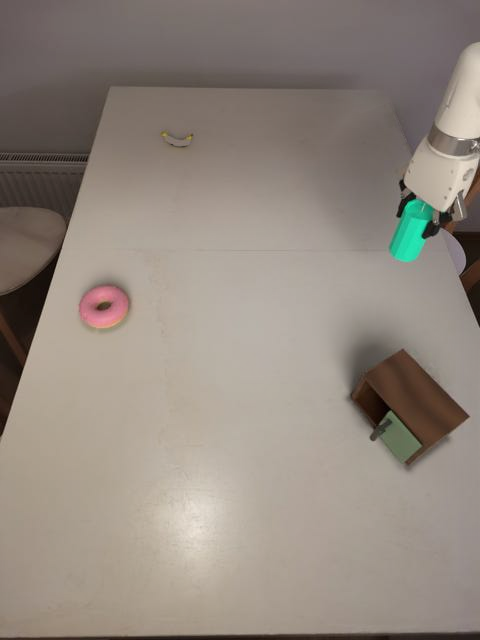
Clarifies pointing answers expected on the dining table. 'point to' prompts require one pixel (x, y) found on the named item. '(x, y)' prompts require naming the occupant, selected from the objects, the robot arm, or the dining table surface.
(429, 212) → the candle
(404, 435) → the sliding door
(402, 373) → the cupboard
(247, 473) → the dining table surface
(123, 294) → the doughnut
